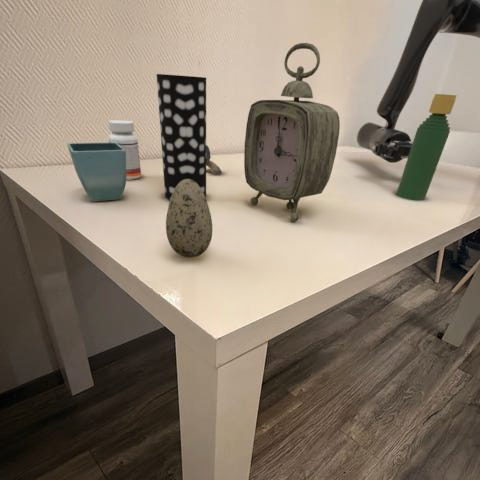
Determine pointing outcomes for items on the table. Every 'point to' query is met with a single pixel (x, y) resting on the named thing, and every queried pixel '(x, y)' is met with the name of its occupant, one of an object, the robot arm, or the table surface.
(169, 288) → the table surface
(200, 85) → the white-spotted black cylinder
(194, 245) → the decorative egg
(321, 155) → the tabletop clock
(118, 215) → the table surface
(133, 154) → the pill bottle
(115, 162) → the flower pot
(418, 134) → the bottle
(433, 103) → the cap
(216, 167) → the eagle figurine
